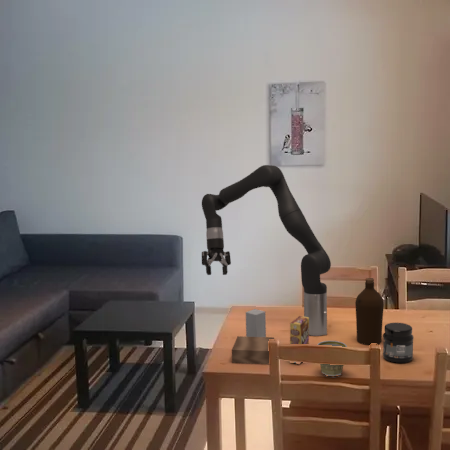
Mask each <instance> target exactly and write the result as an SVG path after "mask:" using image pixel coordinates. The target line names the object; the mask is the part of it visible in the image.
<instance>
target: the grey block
mask: <svg viewBox="0 0 450 450" xmlns="http://www.w3.org/2000/svg"><path fill="white" fill-rule="evenodd" d="M266 321H267V320H266V311H264V310H261V309H256V308H254V309H251V310H248V311H245V333H246V335H245V337H267V327H266V325H267V322H266Z"/></svg>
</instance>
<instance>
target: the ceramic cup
mask: <svg viewBox="0 0 450 450" xmlns="http://www.w3.org/2000/svg"><path fill="white" fill-rule="evenodd" d="M317 345H332V346H342V347H347V348H348V345H347V344H346V343H344V342H342V341H338V340H322V341H320V342H318V343H317V344H316V346H317ZM319 364H320V363H319ZM344 366H345V365H330V364H320V369H321V374H322V373H323V374H325V375H328V376H336V375H342V374H341V373H343V369H344ZM323 374H322V375H323ZM325 375H324V376H325Z"/></svg>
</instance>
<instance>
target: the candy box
mask: <svg viewBox="0 0 450 450" xmlns="http://www.w3.org/2000/svg"><path fill="white" fill-rule="evenodd" d="M289 324H290V325H289V329H290V330H289V331H290V332H289V345H290V344H310V342H309V340H310V339H309V337H310V335H309V317H304V315H303V316H301V315H299V316H298V317H296V318H295V319H294V320H293V321H291V322H290V323H289ZM294 363H296V362H294Z"/></svg>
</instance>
